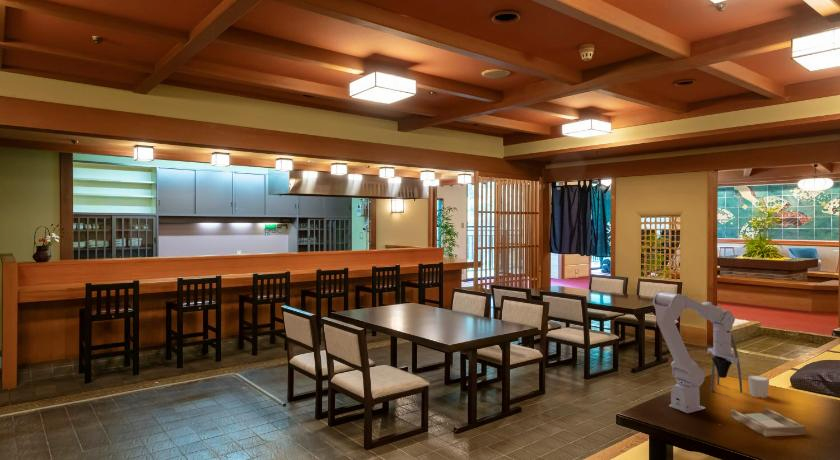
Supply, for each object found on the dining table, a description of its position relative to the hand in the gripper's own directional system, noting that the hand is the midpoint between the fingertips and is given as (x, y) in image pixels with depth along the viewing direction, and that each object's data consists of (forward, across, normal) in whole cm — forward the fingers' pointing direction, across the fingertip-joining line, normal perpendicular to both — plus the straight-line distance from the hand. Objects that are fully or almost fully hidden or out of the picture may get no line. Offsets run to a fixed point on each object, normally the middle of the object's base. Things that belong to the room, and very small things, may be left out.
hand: (722, 377), depth 192 cm
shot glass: (+10, +4, -18) cm, 21 cm away
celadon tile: (+10, -18, 0) cm, 21 cm away
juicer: (+10, +14, -10) cm, 20 cm away
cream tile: (+10, -24, 0) cm, 26 cm away
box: (+9, -21, 0) cm, 23 cm away
